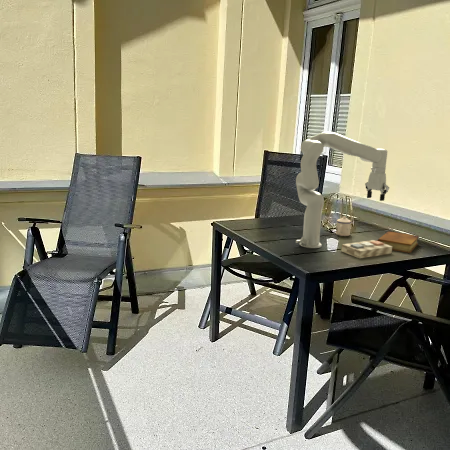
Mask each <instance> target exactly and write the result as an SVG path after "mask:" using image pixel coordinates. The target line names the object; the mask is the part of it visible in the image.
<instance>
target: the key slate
mask: <svg viewBox="0 0 450 450" xmlns="http://www.w3.org/2000/svg"><path fill="white" fill-rule="evenodd" d="M351 247H353V248H356V249H359V248H364V246H363V245H360V244H358V243H357V244H351Z"/></svg>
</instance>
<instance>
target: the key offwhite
mask: <svg viewBox="0 0 450 450" xmlns="http://www.w3.org/2000/svg"><path fill="white" fill-rule="evenodd" d="M361 245H363V246H365V247H373V246H374V244H372V243H369V242H364V243H361Z"/></svg>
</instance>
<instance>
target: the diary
mask: <svg viewBox="0 0 450 450" xmlns="http://www.w3.org/2000/svg"><path fill="white" fill-rule="evenodd" d="M419 238H420V236H419V235H415V234H407V233H403V232H402V233H401V232H395V231H387V232H385V233H384V234H383V235H382V236H380V237H379V238H378V239H377V240H376V241H379V242H382V243H384V244H387V245H390V246H392V251H395V252H396V251H397V252H403V253H408V254H411V253H412V252H413V251H414V249H416V247H417V246H418V245H419V243H418V239H419Z"/></svg>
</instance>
